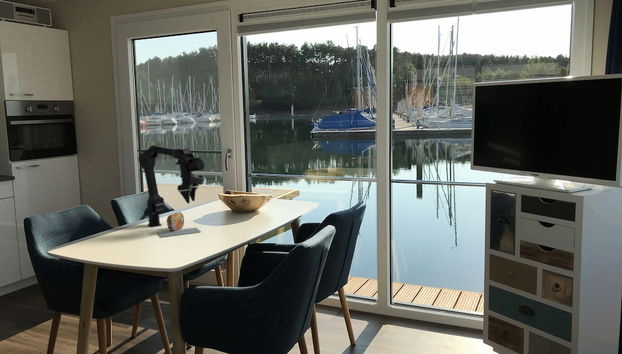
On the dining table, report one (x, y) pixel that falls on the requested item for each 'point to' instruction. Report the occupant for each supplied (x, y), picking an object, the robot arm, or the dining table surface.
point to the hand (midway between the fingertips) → (191, 202)
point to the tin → (175, 221)
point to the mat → (178, 232)
